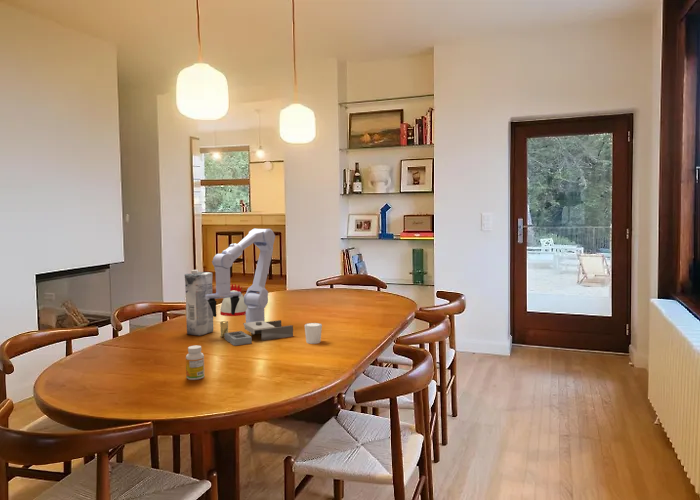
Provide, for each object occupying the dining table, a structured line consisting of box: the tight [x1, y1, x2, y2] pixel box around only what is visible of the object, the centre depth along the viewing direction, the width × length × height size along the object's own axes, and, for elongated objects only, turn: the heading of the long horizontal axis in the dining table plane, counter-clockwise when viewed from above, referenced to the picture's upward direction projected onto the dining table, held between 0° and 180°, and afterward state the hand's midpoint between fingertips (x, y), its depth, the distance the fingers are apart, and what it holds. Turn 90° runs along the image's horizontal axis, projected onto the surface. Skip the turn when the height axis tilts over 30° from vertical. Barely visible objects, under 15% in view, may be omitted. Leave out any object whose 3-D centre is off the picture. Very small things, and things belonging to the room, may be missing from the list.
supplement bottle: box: [185, 344, 205, 381], centre depth 162 cm, size 5×5×10 cm
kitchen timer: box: [219, 283, 247, 317], centre depth 262 cm, size 14×14×15 cm
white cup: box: [304, 322, 323, 345], centre depth 205 cm, size 7×7×7 cm
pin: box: [219, 320, 229, 338], centre depth 215 cm, size 3×3×6 cm
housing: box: [250, 319, 294, 342], centre depth 216 cm, size 13×14×4 cm
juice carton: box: [184, 269, 214, 336], centre depth 220 cm, size 9×10×27 cm
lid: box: [242, 321, 275, 335], centre depth 213 cm, size 13×9×3 cm
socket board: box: [224, 330, 253, 347], centre depth 207 cm, size 12×7×2 cm, turn 31°
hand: (223, 315), depth 214 cm, fingers open, 7 cm apart
